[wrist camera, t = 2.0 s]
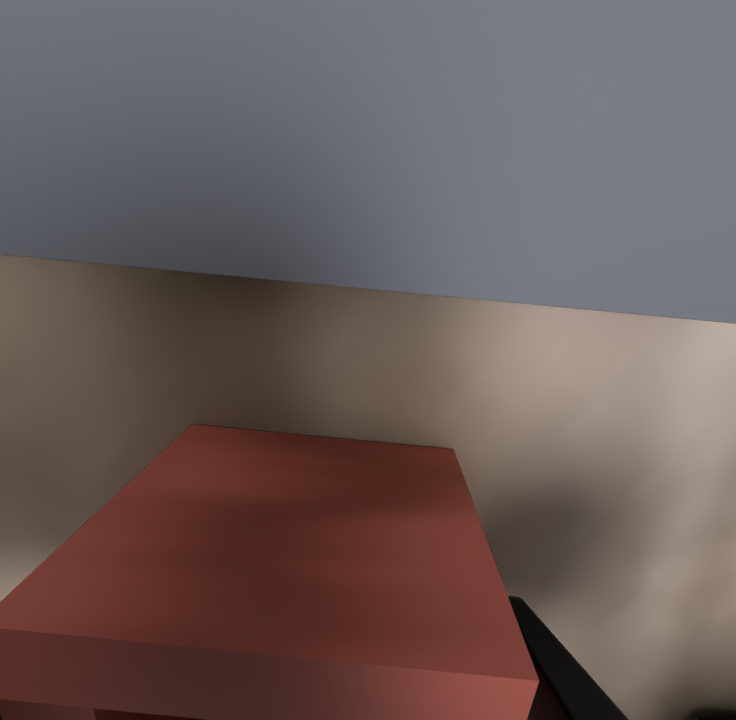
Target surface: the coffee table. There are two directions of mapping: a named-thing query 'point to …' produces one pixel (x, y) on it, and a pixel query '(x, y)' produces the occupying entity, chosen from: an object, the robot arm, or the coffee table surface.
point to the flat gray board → (382, 145)
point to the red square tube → (271, 593)
